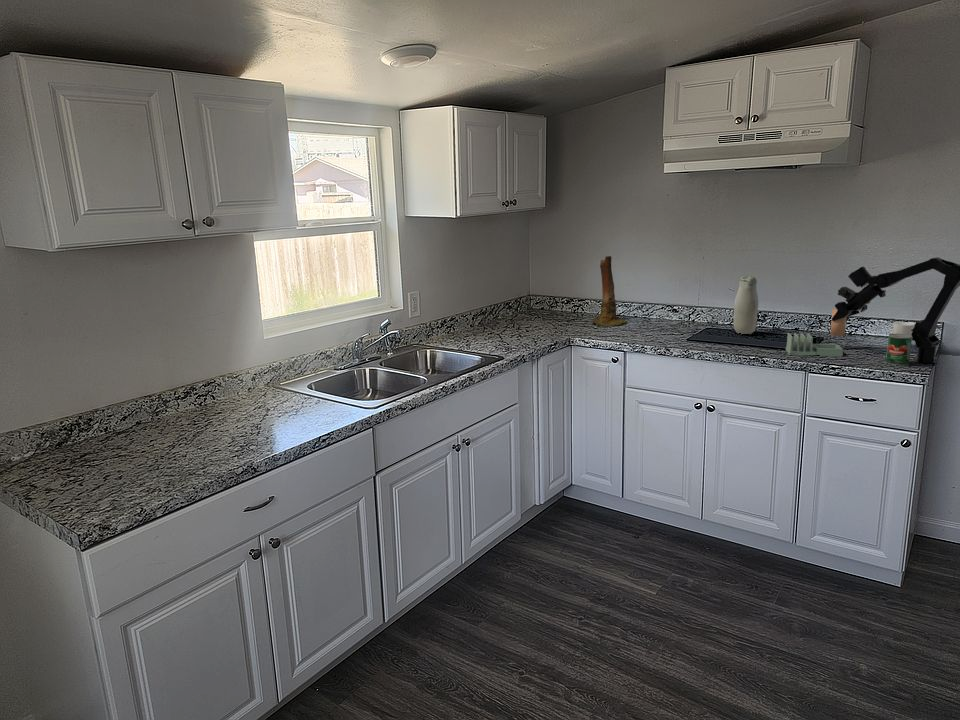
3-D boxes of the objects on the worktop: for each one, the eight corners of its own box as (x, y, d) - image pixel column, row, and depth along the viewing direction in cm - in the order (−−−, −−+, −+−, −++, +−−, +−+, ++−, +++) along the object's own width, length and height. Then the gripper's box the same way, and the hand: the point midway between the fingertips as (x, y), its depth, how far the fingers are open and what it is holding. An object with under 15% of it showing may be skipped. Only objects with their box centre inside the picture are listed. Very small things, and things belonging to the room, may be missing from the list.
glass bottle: (728, 334, 328) (732, 275, 321) (741, 331, 334) (745, 273, 327) (747, 337, 320) (751, 277, 314) (760, 334, 326) (764, 275, 320)
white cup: (915, 348, 290) (918, 325, 288) (894, 348, 291) (897, 325, 289) (907, 344, 297) (910, 322, 295) (887, 344, 299) (890, 321, 297)
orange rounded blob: (846, 336, 290) (849, 310, 287) (832, 336, 290) (834, 310, 288) (842, 333, 295) (844, 308, 292) (828, 333, 296) (830, 308, 293)
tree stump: (611, 328, 350) (612, 258, 342) (584, 324, 362) (584, 257, 354) (632, 322, 364) (633, 255, 356) (606, 319, 375) (606, 254, 368)
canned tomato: (905, 361, 270) (908, 333, 267) (911, 366, 262) (915, 338, 260) (882, 360, 272) (885, 333, 269) (888, 365, 264) (891, 337, 262)
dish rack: (842, 356, 280) (844, 338, 278) (789, 355, 285) (791, 337, 283) (836, 351, 289) (838, 333, 287) (785, 350, 294) (787, 332, 292)
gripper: (862, 278, 290) (833, 302, 301) (841, 283, 279) (812, 307, 290) (880, 299, 286) (850, 322, 297) (860, 304, 274) (829, 328, 285)
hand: (835, 319), depth 292 cm, fingers closed on orange rounded blob, 5 cm apart
